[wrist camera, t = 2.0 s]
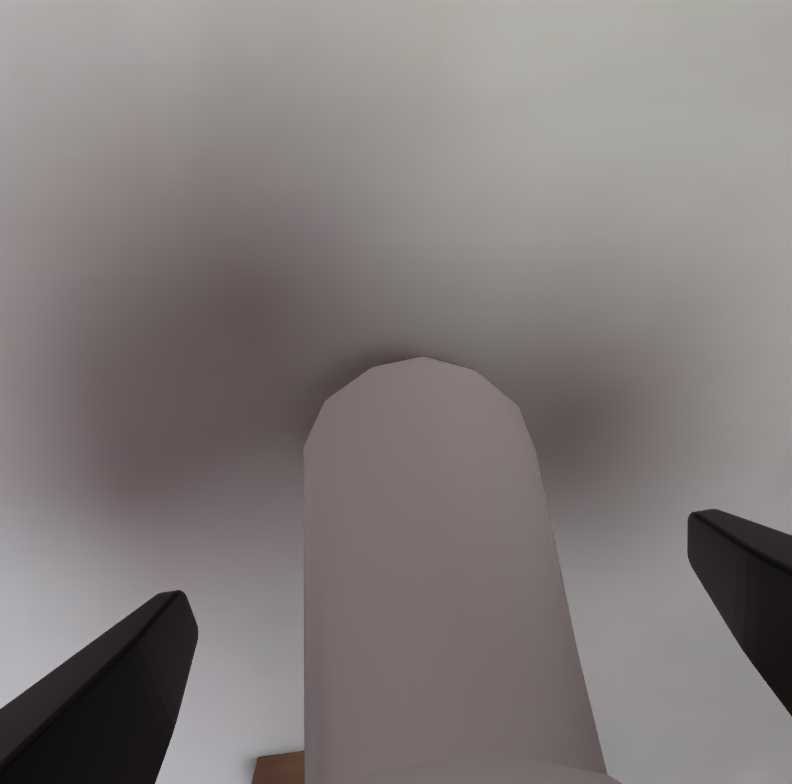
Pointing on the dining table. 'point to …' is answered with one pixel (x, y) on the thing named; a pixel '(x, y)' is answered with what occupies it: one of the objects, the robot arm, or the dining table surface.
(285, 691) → the dining table surface
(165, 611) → the robot arm
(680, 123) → the dining table surface
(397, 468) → the salt shaker
